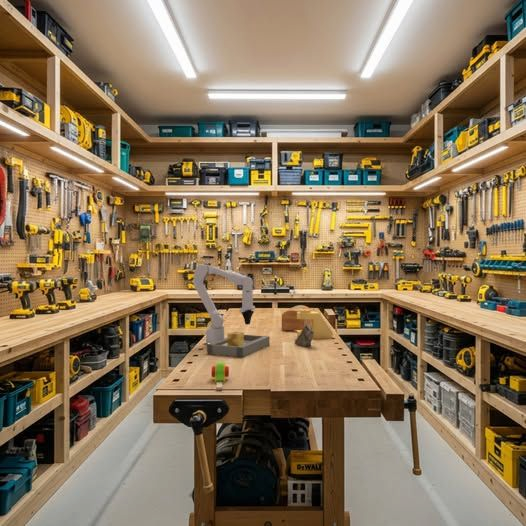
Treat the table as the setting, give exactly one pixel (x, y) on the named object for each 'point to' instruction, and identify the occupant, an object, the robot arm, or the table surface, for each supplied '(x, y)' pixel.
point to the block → (235, 338)
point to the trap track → (249, 346)
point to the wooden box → (294, 319)
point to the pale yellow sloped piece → (315, 324)
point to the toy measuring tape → (220, 374)
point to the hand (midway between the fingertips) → (247, 324)
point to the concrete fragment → (305, 337)
